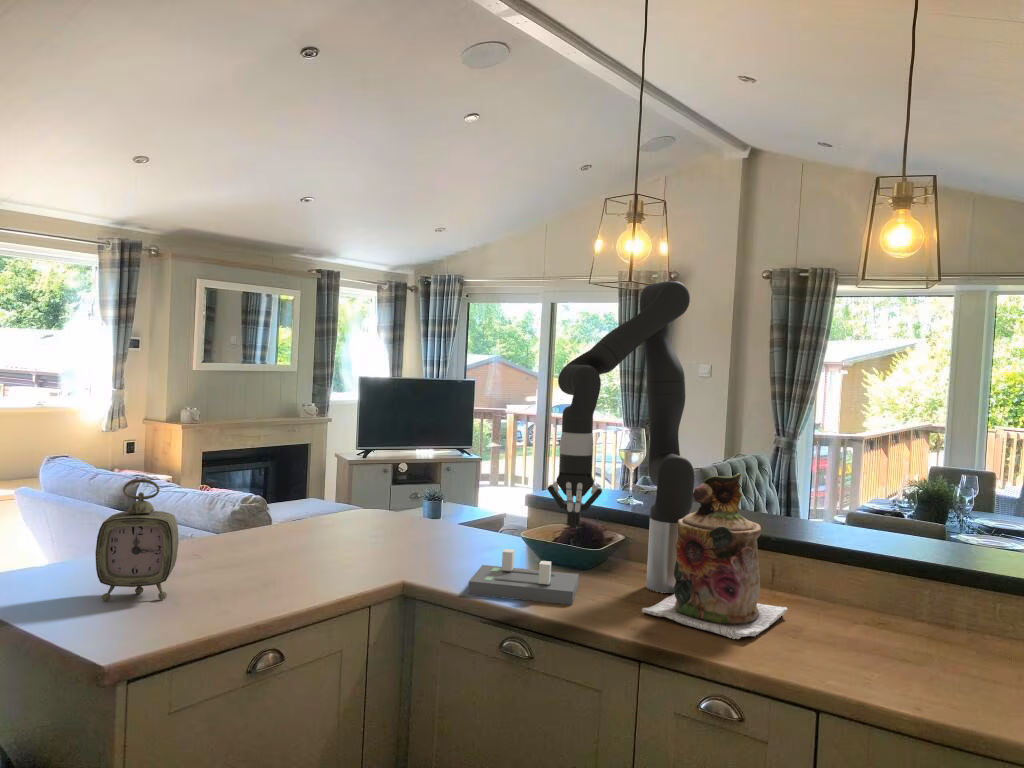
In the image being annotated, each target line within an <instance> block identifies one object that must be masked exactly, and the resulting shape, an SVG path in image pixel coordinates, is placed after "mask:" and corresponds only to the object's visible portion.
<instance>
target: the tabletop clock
mask: <svg viewBox="0 0 1024 768" xmlns="http://www.w3.org/2000/svg"><path fill="white" fill-rule="evenodd" d="M137 483H138V484H139V483H140V484H141V483H145V484H150V485H153V486H154V488H156V492H155V493H153V494H151V495H145V493H144V492H142V491H141V492H139V493H138V494H137V495H132V494H129V493H128V492H127V491H126V489H127V487H129V486H130V485H132V484H137ZM122 492H123V495H125V496H126V498H129V499H133V500H136V501H133V502H131V503H130V504H129V506H128V507H127V509H126V511H121V512H117V513H114V514H112V515H110V516H109V517H108V518H106V519H105V520H104V521H103V522H102V523H101V525H100V527H99V529H98V533H97V538H96V546H95V568H96V574H97V575H96V576H97V579H98V580H99V582H100V584H103V585H105V586H110V587H109V588H108V591H107V592H106V593H103V594H102V595H101V600H102V601H103V602H108V601H110V600H111V597H112V596H111V593H112V592H113V590H114V588H115V587H123V588H124V587H126V588H135V587H136V588H135V589H134V593H135V594H137V595H141V594H143V592H144V587H149V586H155V585H156V588H157V590H158V592H159V593H158V594H157V596H158V599H159V600H160V601H161V600H165V599H166V598H167V595H168V594H167V592H166V591H163V588H162V584H163V583H165V582H166V581H167V580H168V578H169V576H170V575H171V574H172V572H173V569H174V567H175V566H176V561H177V558H178V551H179V550H178V549H179V527H178V521H177V519H176V516H175V515H174V514H172V513H170V512H166V511H160V510H159V511H158V510H155V508H154V505H153V504H152V503H151V502H150V501H146V500H149V499H152V498H155V497H156V496H158V495H159V493H160V487H159V485H158V484H157V483H156V482H155V481H153V480H151V479H145V478H143V479H138V478H137V479H132V480H130V481H128V482H126V484H124V486H123V487H122Z"/></svg>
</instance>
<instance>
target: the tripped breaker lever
mask: <svg viewBox="0 0 1024 768" xmlns="http://www.w3.org/2000/svg"><path fill="white" fill-rule="evenodd" d="M538 565H539V566H538V570H539V582H538V583H539V584H549V583H550V580H551V572H552V561H548V560H541V561H540V562H539V563H538Z"/></svg>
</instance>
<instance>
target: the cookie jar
mask: <svg viewBox="0 0 1024 768" xmlns="http://www.w3.org/2000/svg"><path fill="white" fill-rule="evenodd" d="M741 476H742V473H739V472H738V473H736V474H734V475H733V476H724V475H713V476H710V477H707V478H705V480H704V481H703V483H701V484H699V485H698V486H696V487H695V489H694V491H693V499H694V501H695V502H697V503H698V504H699V505H700V506H699V508H698V509H697V510H696V511H694V512H690V513H689V514H688V515H686V516H685V517H684V518H682V519H679V520H678V540H677V543H676V550H677V553H676V556H677V559H676V564H675V569H674V577H675V580H676V583H675V586H674V592H675V594H670V595H669V596H667V597H665V598H663V599H662V600H661V601H660V602H657V603H656V604H655V605H652V606H649V607H642V608H641V613H643V614H649V615H652V616H656V617H660V618H661V617H662V618H663V617H664V618H667V619H669V620H671V621H675V622H676V623H678V624H682V625H685V626H688V627H693V628H695V629H699V630H703V631H705V632H706V631H707V632H710V633H713V634H717V635H721V636H724V637H727V638H729V639H731V638H732V640H739V639H741V638H742V637H743V638H744V637H757V636H758V635H759V634H760V633H762V632H763V631H764V630H767V629H768V628H769V627H771V625H773V624H774V623H776V621H778V620H779V619H780V618H782V617H781V616H782V615H784V616H785V613H786V612H787V611H788V608H787V606H779V605H778V606H776V605H771V604H763V603H758V600H759V599H760V594H761V577H760V563H759V555H758V538H759V537H760V536H761V533H762V528H761V525H760V524H759V523H757V522H754V521H751V520H748V519H747V518H745V517H744V516H742V515H741V513H740V511H739V510H738V507H739V504H740V501H741V498H742V497H743V493H741V491H740V488H741V484H740V479H741ZM644 612H645V613H644ZM756 635H757V636H756Z"/></svg>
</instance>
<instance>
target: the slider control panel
mask: <svg viewBox="0 0 1024 768" xmlns="http://www.w3.org/2000/svg"><path fill="white" fill-rule="evenodd" d="M579 576H580V575H579V573H571V572H562V571H561V572H560V571H551V580H550V583H549V584H539V583H538V582H539V569H537V570H536V569H531V568H530V569H528V568H518V567H514V568H513V570H512V571H504V570H502V566H497V565H489V564H481V566H480V567H479V568H478V570H477V571H475V573H474V574H473V576H472V577H471V578H470V579H469V580H468V588H467V594H468V595H471V596H472V595H473V596H474V595H475V596H481V595H482V596H483V597H491V596H494V597H493V598H500V597H504V598H503V599H510V598H513V599H512V600H519V599H522V601H529V600H532V601H531V602H539V601H542V603H548V602H549V604H550V603H551V604H558V603H561V604H560V605H568V604H570V605H569V606H573V604H574V601H575V597H576V594H577V591H578V588H579Z"/></svg>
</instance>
